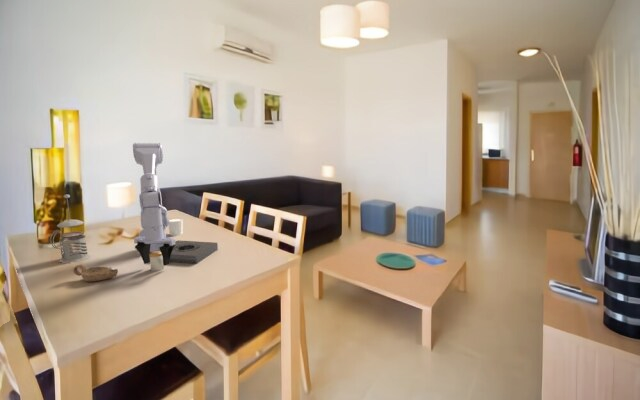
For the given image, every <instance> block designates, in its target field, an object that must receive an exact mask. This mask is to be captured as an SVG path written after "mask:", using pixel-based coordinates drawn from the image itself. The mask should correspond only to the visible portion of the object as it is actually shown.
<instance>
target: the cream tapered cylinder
mask: <svg viewBox="0 0 640 400" xmlns="http://www.w3.org/2000/svg"><path fill="white" fill-rule="evenodd" d="M167 227H168V231H169V235H170V236H173V237H174V236H175V237H176V236H181V235H183V233H184V231H183V230H184V219H183V218H173V219H172V218H170V219H168V226H167Z"/></svg>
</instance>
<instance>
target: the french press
mask: <svg viewBox="0 0 640 400" xmlns="http://www.w3.org/2000/svg"><path fill="white" fill-rule="evenodd" d="M70 197H71V195H70V194H66V193H65V194H64V195H63V198H65V199H66V203H67V204H66V205H67V210H68V212H70V208H69V207H70V206H69V200H68V199H69V198H70ZM70 215H71V214H70V213H68V218H69V219H67V220H63V221H61V222H59V223H58V224H57V225H56V227H57V228H62V229H63V228H64V229H67V228H70V230H71V231H70V232H65V233H62V230H60V229H56V230H54V231H53V232H52V233H51V234H50V238H49V241H50V244H51V246H52V247H53V248H55V249H57V250H59V251H60V254H61V258H60V260H59V261H60V262H62V263H61V264H72V263H71V262H74V263H79V262H83V261H86V260H89V259H90V258H91V257H92V255H91V254H89V253H88V246H87V240H86V235H84V233H85V232H83V231H73V230H72V227H78V226H81V225H84V223H85V221H82V220H80V219H72V218H71V216H70ZM53 234H54V235H53ZM57 234H60V236H59V237H60V239H59V245H60V247H57V246H56V244H55V241H54V240H55V236H56V235H57ZM52 237H53V238H52ZM85 259H86V260H85ZM82 260H83V261H82ZM78 261H79V262H78ZM60 262H59V263H60Z"/></svg>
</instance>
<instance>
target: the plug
mask: <svg viewBox="0 0 640 400" xmlns="http://www.w3.org/2000/svg"><path fill="white" fill-rule="evenodd" d="M149 256H150V262H149V263H150V264H149V265H150V271H151V272H159V271H163V270H164V264H163V257H162V253H161V251H154V252H150V253H149Z"/></svg>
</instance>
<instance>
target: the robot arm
mask: <svg viewBox="0 0 640 400" xmlns="http://www.w3.org/2000/svg"><path fill="white" fill-rule="evenodd" d="M132 153H133V154H132V155H133V158H134V161H135V163H136V164H138V165H140V166H141V167H142V170H143V175H141V177H140V179H139V181H140V193H139V196H138V197H139V206H140V209H141V210H140V226H141V230H140V232H139V235H138V236H136V237H134V238H133V241H134V242H133V243H134V244H136V245H135V246H134V249H136V251H137V252H138V253H139V255H140V257H141V259H142V261H143V264H144V265H147V264H149V263H150V256H149V253H151V252H154V251H157V250H159V249H160V251H161V253H162V257H163V266H167V265H169V264H170V263H171V262H170V256H171V253H172V250H173V248H174V246H175V244H176V243H175V242H176V238H171V237H169V236H168V237H167V233H166V228H168V227H169V226H168V220H169V218H168V209H167V208H166V207H165V206H163V202H162V201H163V200H162V193H161V188H160V182H159V181H160V180H159V177H158V175H157V167H158V165H160V164H162V163H163V158H164V157H163V156H164V154H163V146H162V143H161V142H158V143H157V142H155V143H154V142H151V143H150V142H149V143H148V142H147V143H146V142H143V143H141V142H133V144H132Z"/></svg>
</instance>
